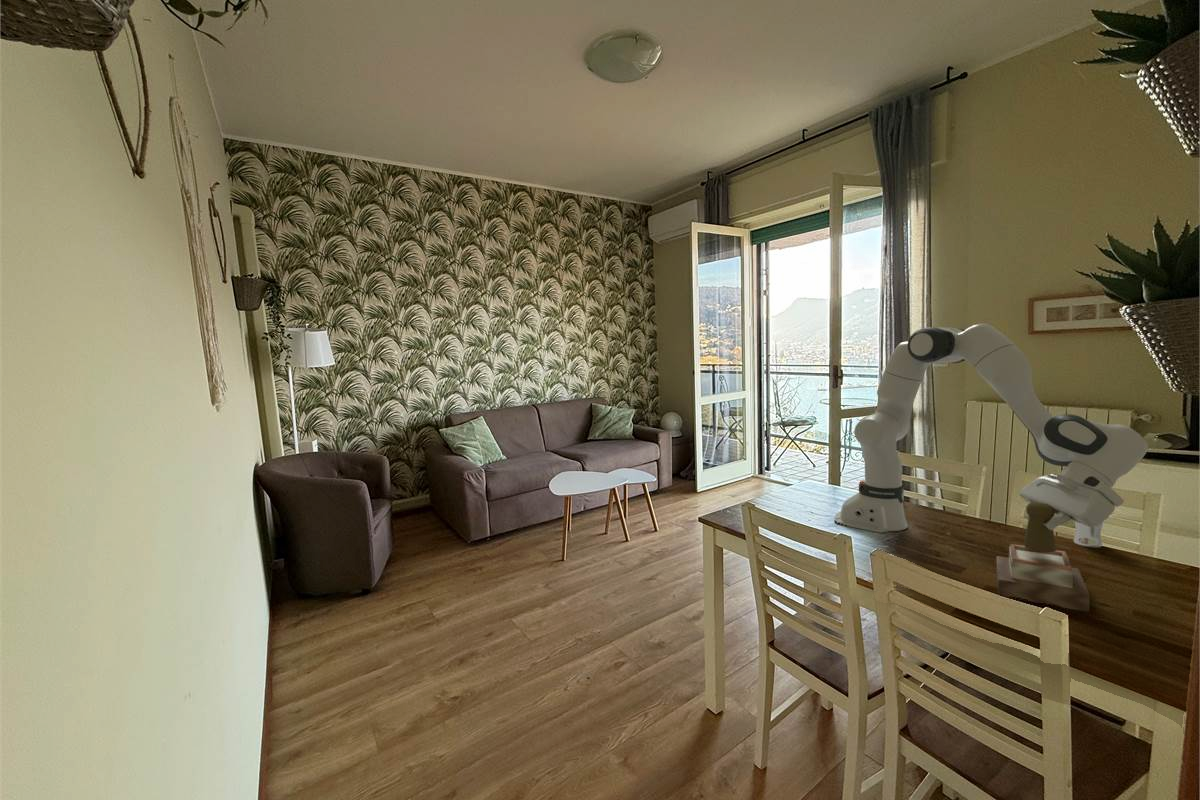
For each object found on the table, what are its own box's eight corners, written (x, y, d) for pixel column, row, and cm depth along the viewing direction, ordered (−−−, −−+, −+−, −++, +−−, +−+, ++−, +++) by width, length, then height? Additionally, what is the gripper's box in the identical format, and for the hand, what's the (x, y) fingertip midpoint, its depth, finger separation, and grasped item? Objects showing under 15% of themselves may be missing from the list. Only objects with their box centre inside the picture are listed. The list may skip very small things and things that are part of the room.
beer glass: (1104, 542, 148) (1105, 493, 147) (1104, 550, 143) (1106, 499, 142) (1071, 537, 153) (1073, 489, 152) (1070, 544, 148) (1072, 495, 147)
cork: (1062, 552, 119) (1063, 507, 118) (1033, 552, 121) (1034, 507, 120) (1045, 542, 125) (1046, 500, 124) (1017, 542, 126) (1018, 500, 125)
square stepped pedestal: (998, 595, 122) (998, 560, 122) (996, 570, 135) (996, 538, 134) (1088, 612, 113) (1090, 574, 112) (1077, 583, 125) (1078, 549, 125)
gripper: (1038, 464, 131) (997, 502, 133) (1110, 485, 111) (1062, 529, 112) (1056, 480, 131) (1015, 518, 133) (1131, 504, 111) (1082, 548, 112)
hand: (1037, 523), depth 122 cm, fingers closed on cork, 4 cm apart
